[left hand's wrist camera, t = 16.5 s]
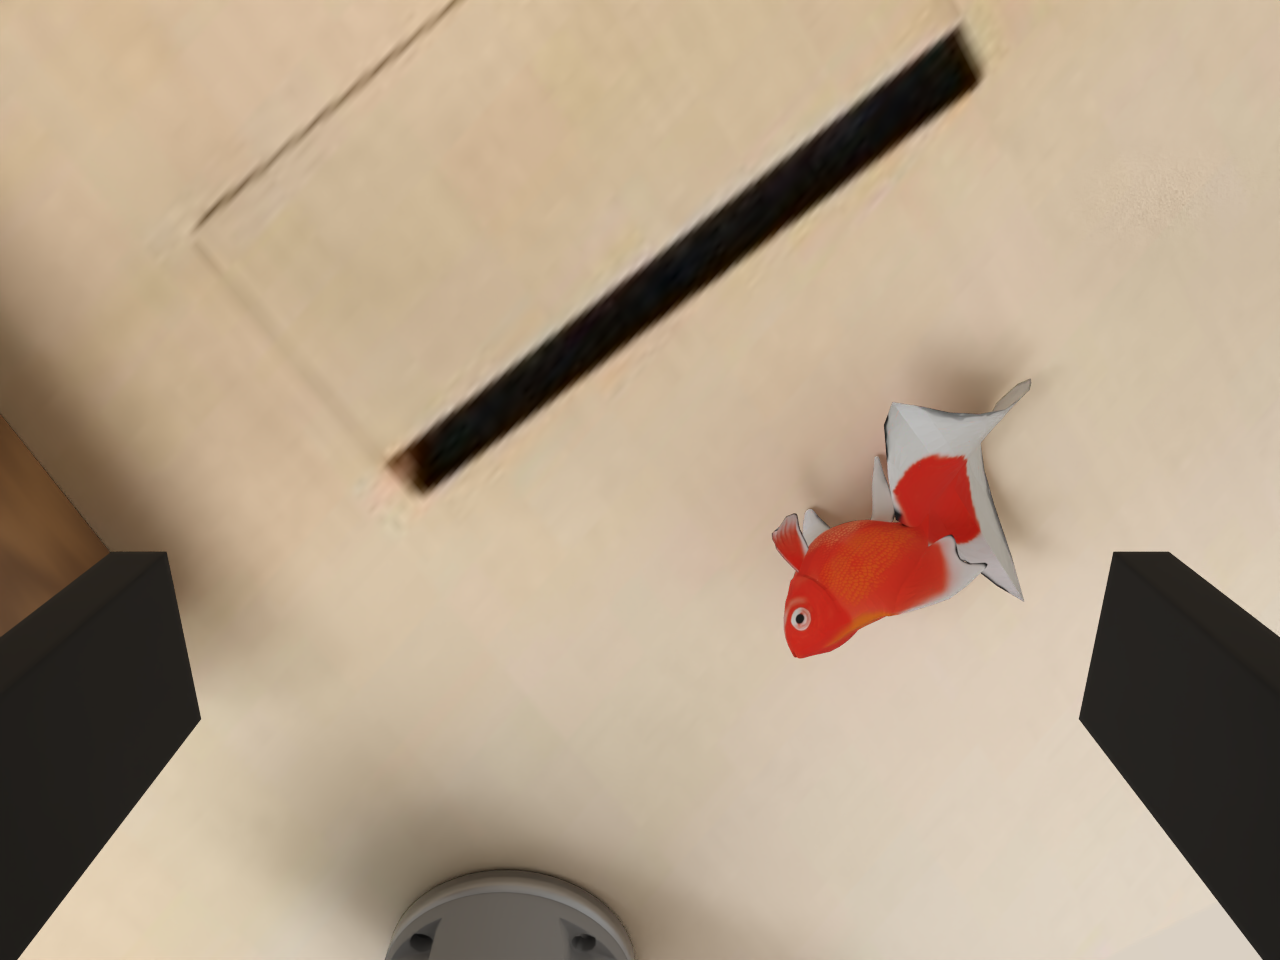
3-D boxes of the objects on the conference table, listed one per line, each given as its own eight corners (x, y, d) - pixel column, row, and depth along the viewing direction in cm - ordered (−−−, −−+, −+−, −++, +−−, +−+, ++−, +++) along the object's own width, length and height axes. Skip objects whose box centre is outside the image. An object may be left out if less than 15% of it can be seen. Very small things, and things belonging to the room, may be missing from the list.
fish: (670, 489, 39) (826, 598, 31) (917, 291, 43) (1111, 345, 35) (745, 635, 46) (889, 755, 38) (953, 453, 49) (1124, 528, 41)
